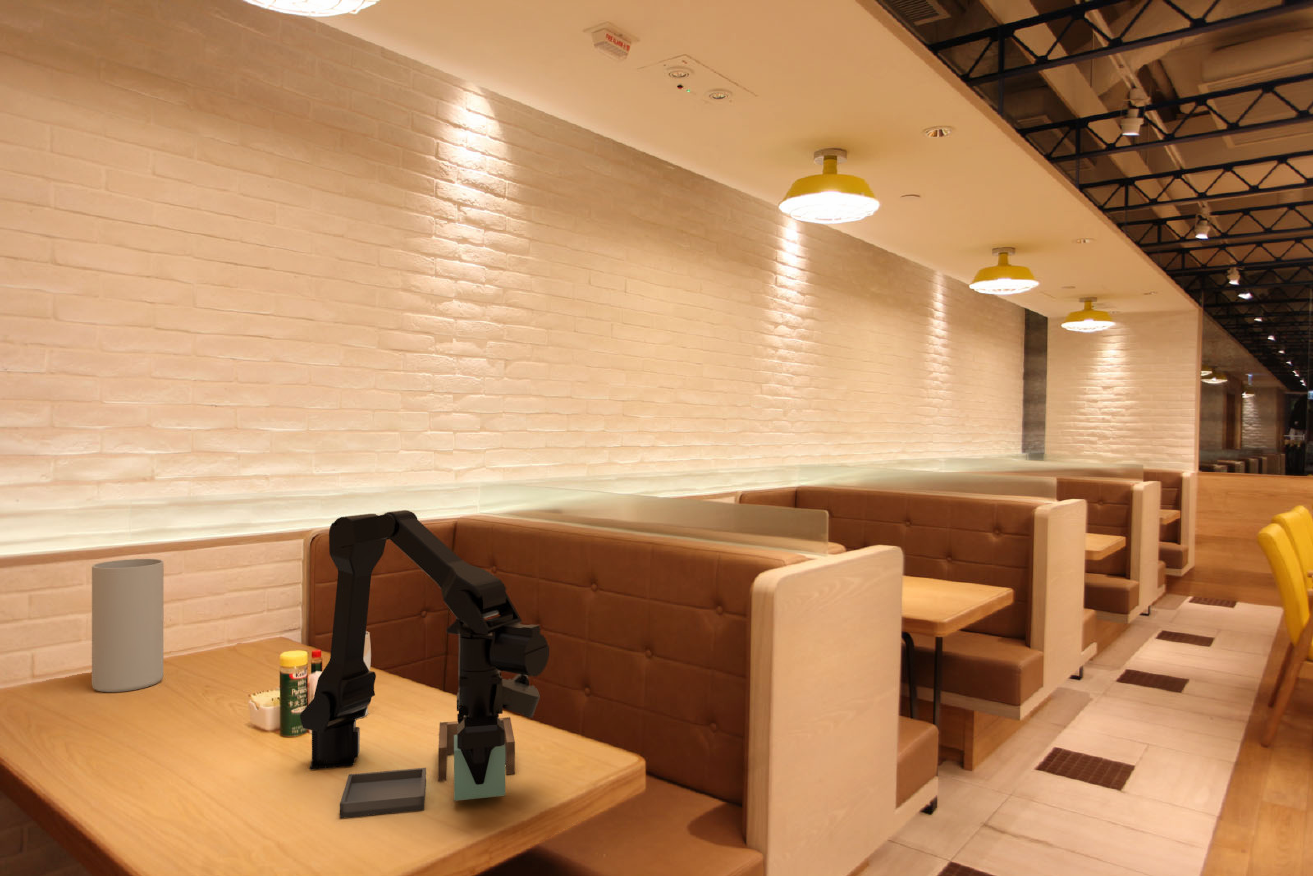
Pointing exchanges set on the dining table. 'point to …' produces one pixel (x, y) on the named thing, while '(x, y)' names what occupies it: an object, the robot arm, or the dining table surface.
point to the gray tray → (383, 793)
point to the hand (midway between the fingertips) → (479, 775)
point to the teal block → (493, 778)
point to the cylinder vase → (127, 624)
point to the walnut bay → (447, 746)
